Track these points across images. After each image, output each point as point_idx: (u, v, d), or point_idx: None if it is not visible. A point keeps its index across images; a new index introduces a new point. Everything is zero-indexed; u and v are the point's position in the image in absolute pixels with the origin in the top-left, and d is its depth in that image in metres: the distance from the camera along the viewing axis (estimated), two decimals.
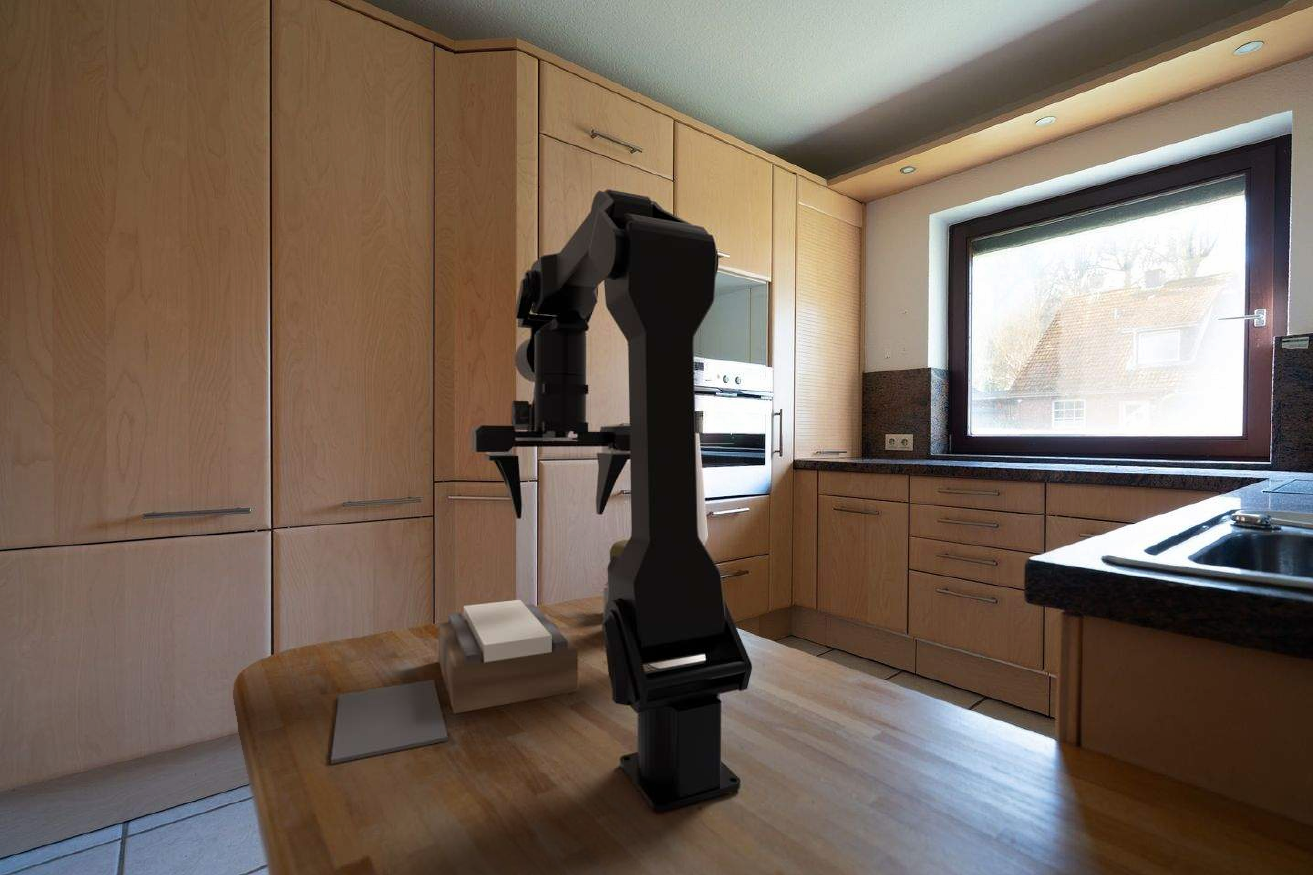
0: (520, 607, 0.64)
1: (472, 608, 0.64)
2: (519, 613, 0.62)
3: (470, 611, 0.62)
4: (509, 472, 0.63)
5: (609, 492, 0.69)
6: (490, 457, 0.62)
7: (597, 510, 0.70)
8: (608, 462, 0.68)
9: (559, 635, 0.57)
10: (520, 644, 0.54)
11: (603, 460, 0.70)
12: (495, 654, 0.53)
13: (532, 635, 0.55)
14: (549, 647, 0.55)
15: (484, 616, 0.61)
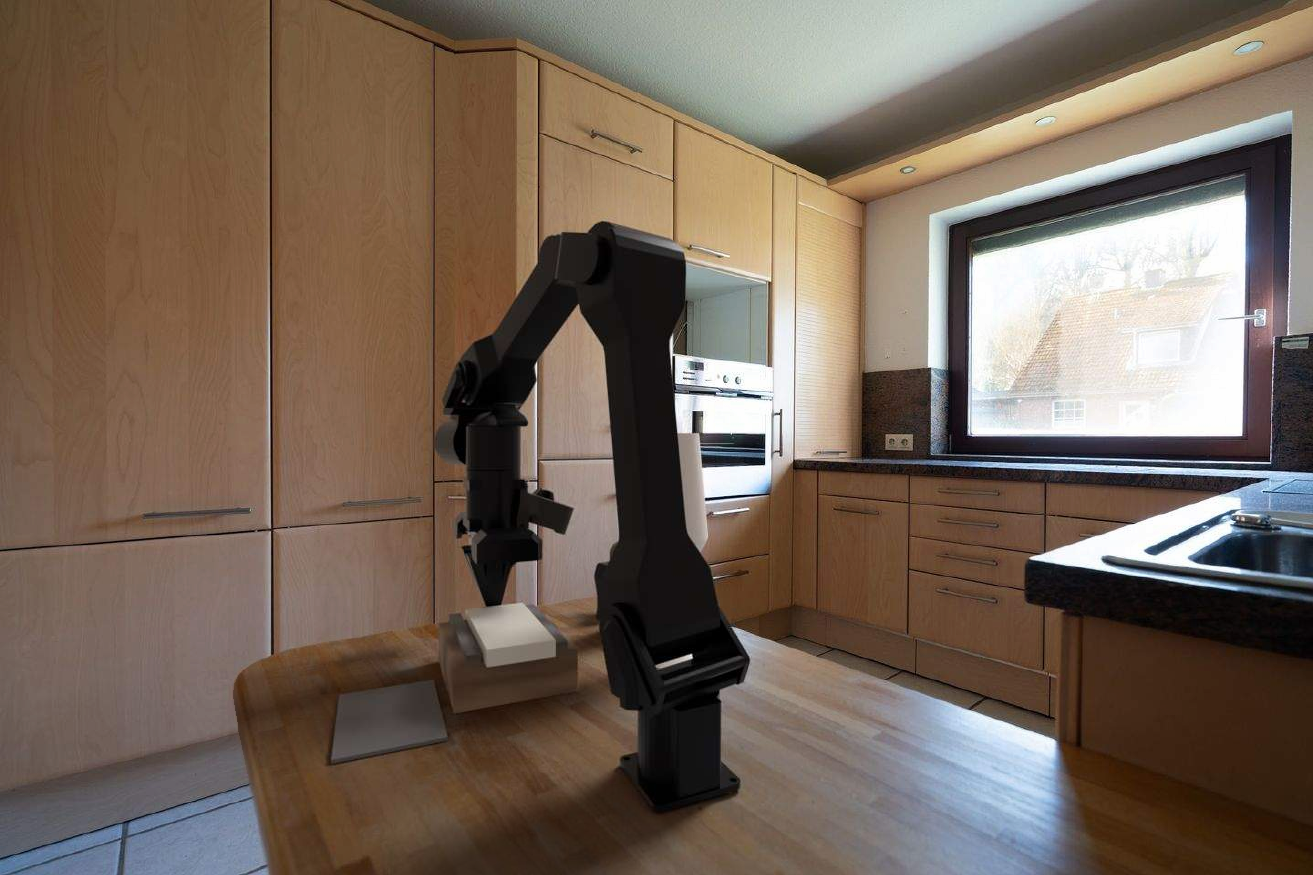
0: (523, 610, 0.63)
1: (474, 611, 0.62)
2: (522, 617, 0.61)
3: (472, 615, 0.61)
4: (468, 565, 0.66)
5: (480, 593, 0.64)
6: None
7: None
8: None
9: (559, 635, 0.57)
10: (524, 648, 0.53)
11: None
12: (498, 659, 0.52)
13: (536, 640, 0.54)
14: (553, 652, 0.54)
15: (486, 619, 0.60)
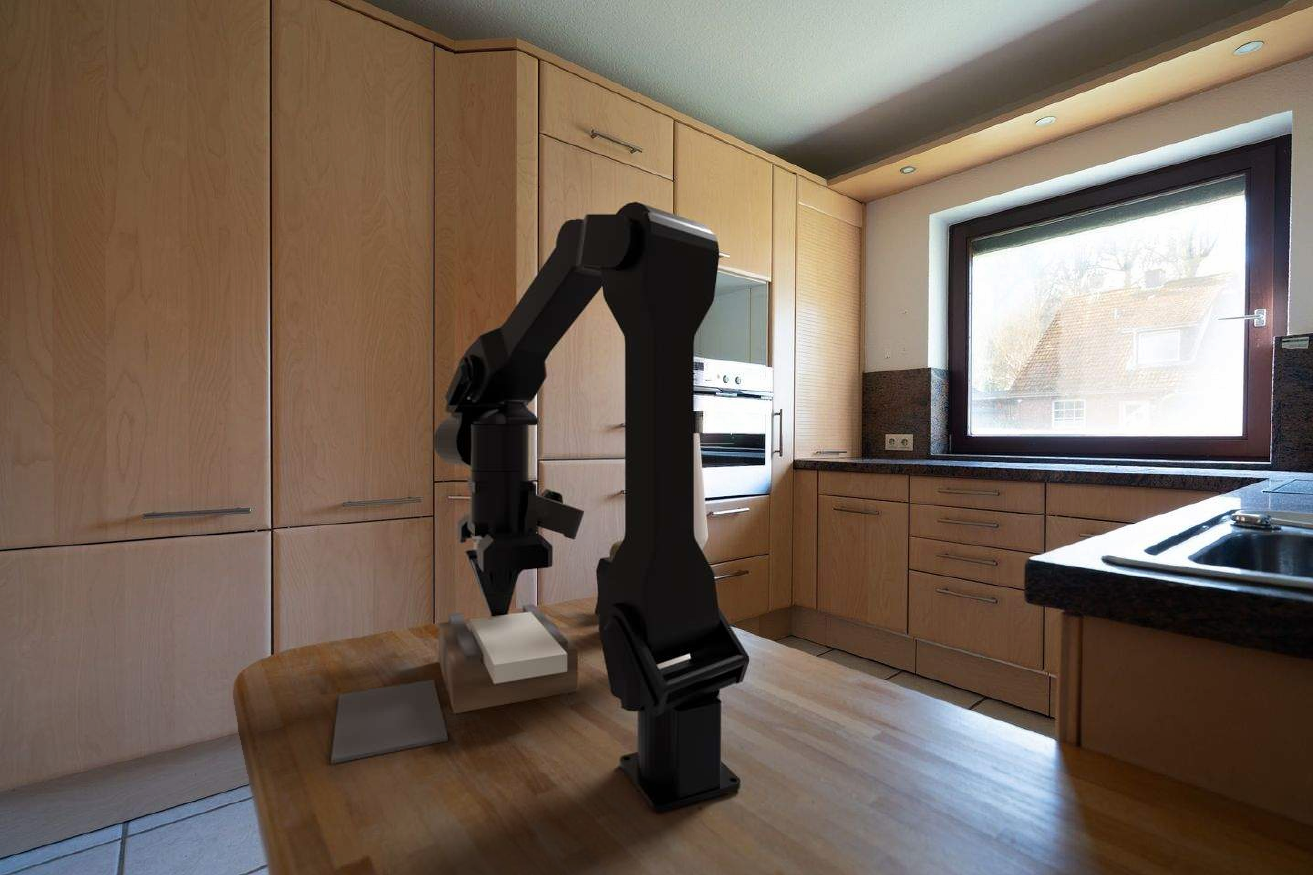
0: (531, 620, 0.60)
1: (480, 621, 0.59)
2: (531, 628, 0.57)
3: (477, 625, 0.58)
4: (473, 571, 0.62)
5: (486, 600, 0.61)
6: None
7: None
8: None
9: (559, 635, 0.57)
10: (533, 663, 0.50)
11: None
12: (506, 674, 0.49)
13: (546, 654, 0.51)
14: (564, 666, 0.51)
15: (493, 630, 0.56)
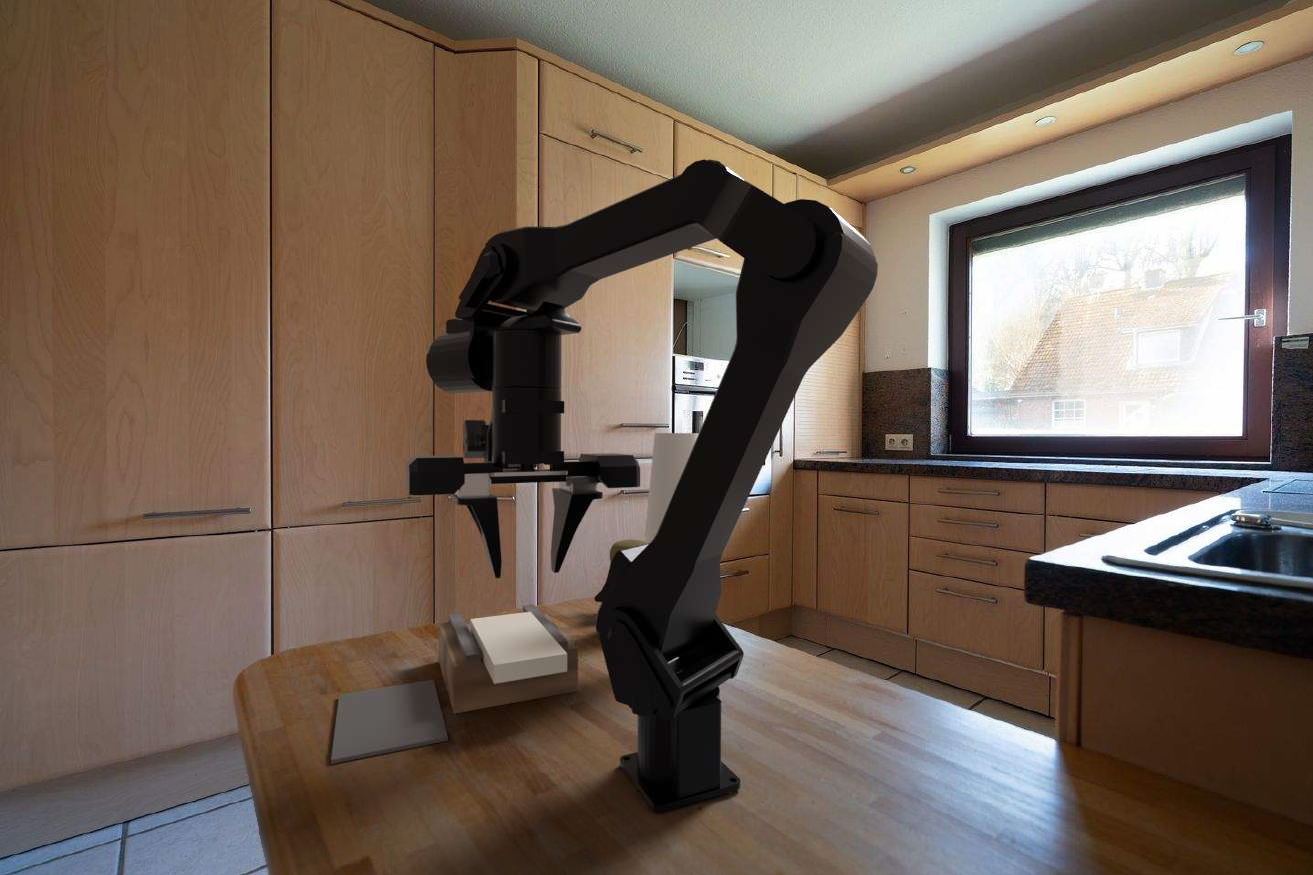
0: (532, 620, 0.60)
1: (480, 621, 0.59)
2: (531, 628, 0.57)
3: (477, 625, 0.58)
4: (484, 519, 0.47)
5: (568, 543, 0.51)
6: (459, 500, 0.46)
7: (552, 566, 0.52)
8: (566, 504, 0.51)
9: (559, 635, 0.57)
10: (533, 663, 0.50)
11: (560, 499, 0.52)
12: (506, 675, 0.49)
13: (546, 654, 0.51)
14: (564, 666, 0.51)
15: (493, 630, 0.56)
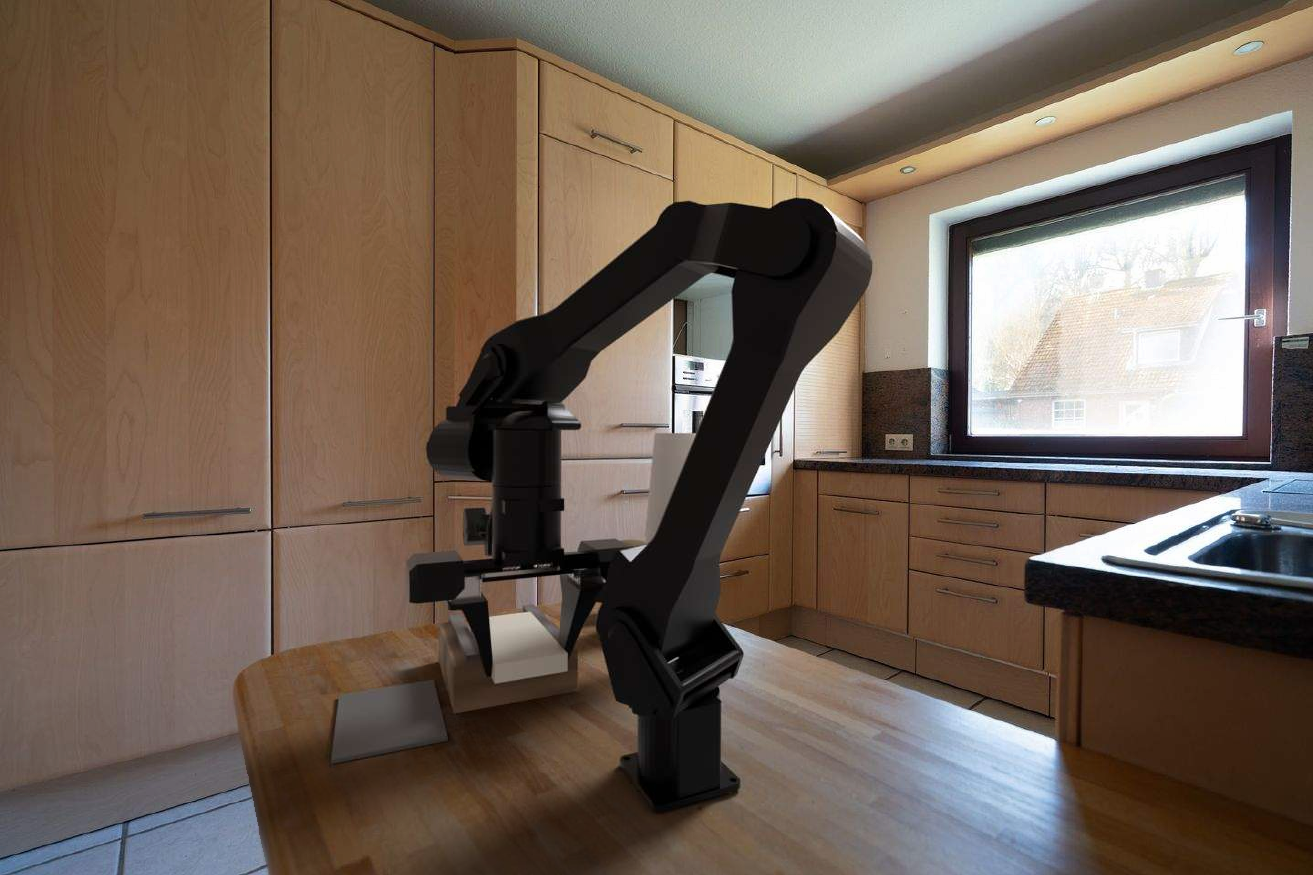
0: (531, 620, 0.60)
1: None
2: (531, 628, 0.57)
3: None
4: (475, 623, 0.47)
5: (576, 636, 0.52)
6: (449, 606, 0.46)
7: None
8: (574, 599, 0.51)
9: None
10: (534, 663, 0.50)
11: (568, 591, 0.53)
12: (507, 674, 0.49)
13: (546, 653, 0.51)
14: (565, 666, 0.51)
15: (493, 630, 0.56)
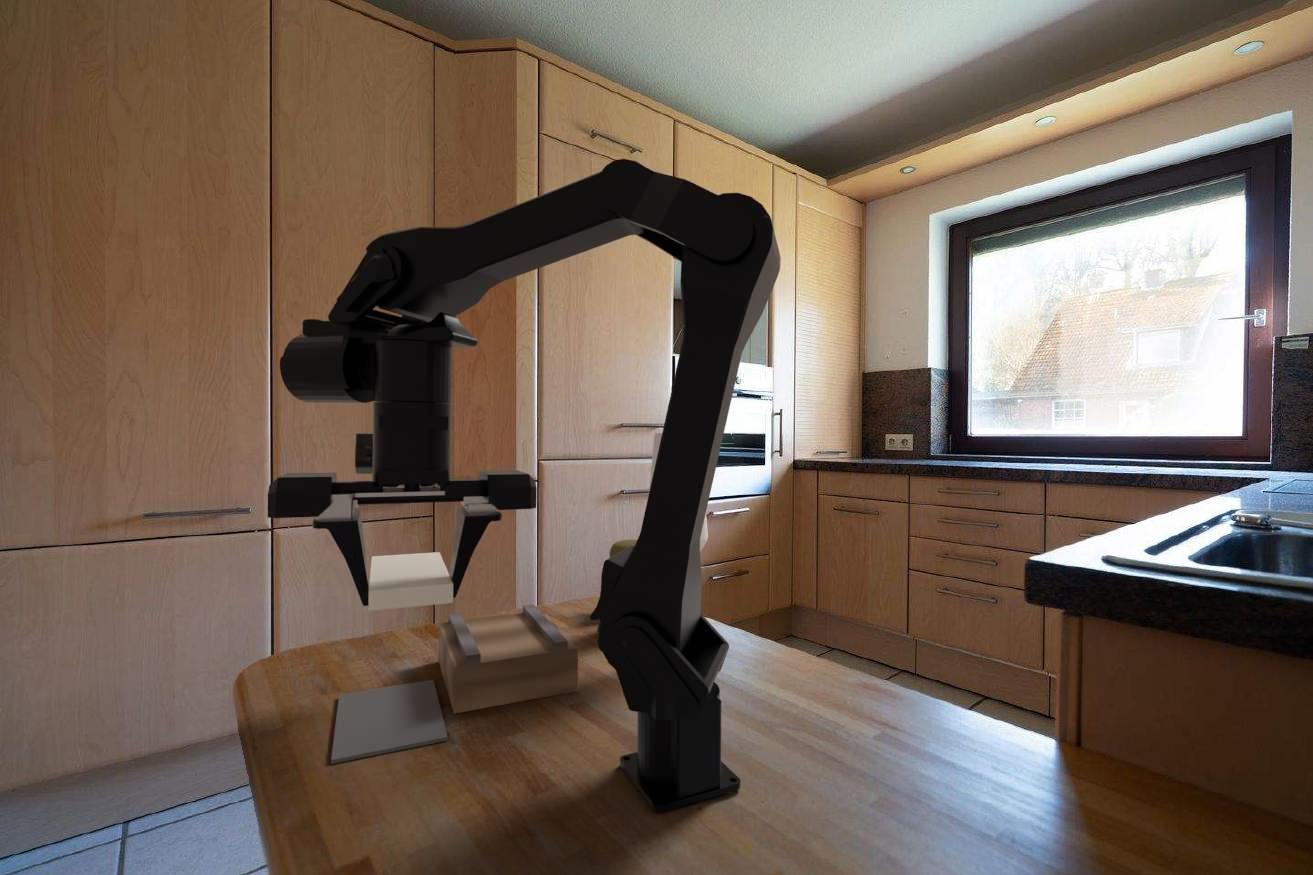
0: (435, 558, 0.57)
1: (380, 558, 0.56)
2: (430, 564, 0.54)
3: (375, 561, 0.55)
4: (344, 544, 0.44)
5: (464, 567, 0.48)
6: (314, 524, 0.43)
7: None
8: (461, 526, 0.48)
9: (559, 635, 0.57)
10: (414, 591, 0.46)
11: (459, 520, 0.49)
12: (382, 602, 0.46)
13: (430, 583, 0.47)
14: (450, 597, 0.48)
15: (388, 565, 0.53)
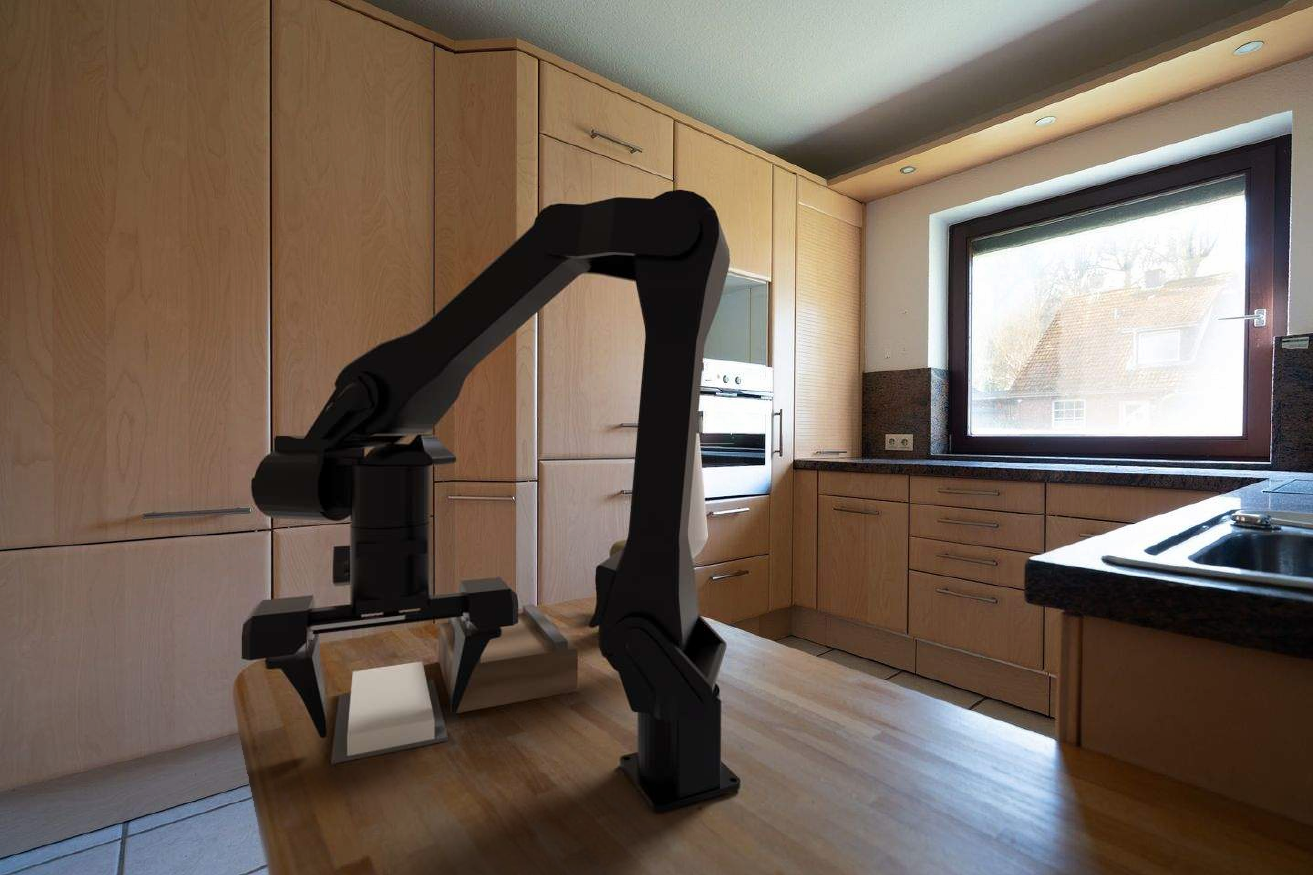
0: (418, 673, 0.56)
1: (361, 675, 0.55)
2: (412, 684, 0.53)
3: (356, 680, 0.54)
4: (298, 681, 0.43)
5: (464, 684, 0.48)
6: (266, 664, 0.41)
7: (450, 706, 0.49)
8: (461, 644, 0.48)
9: (559, 635, 0.57)
10: (394, 731, 0.46)
11: (459, 635, 0.49)
12: (362, 745, 0.45)
13: (411, 720, 0.47)
14: (431, 733, 0.47)
15: (369, 687, 0.53)
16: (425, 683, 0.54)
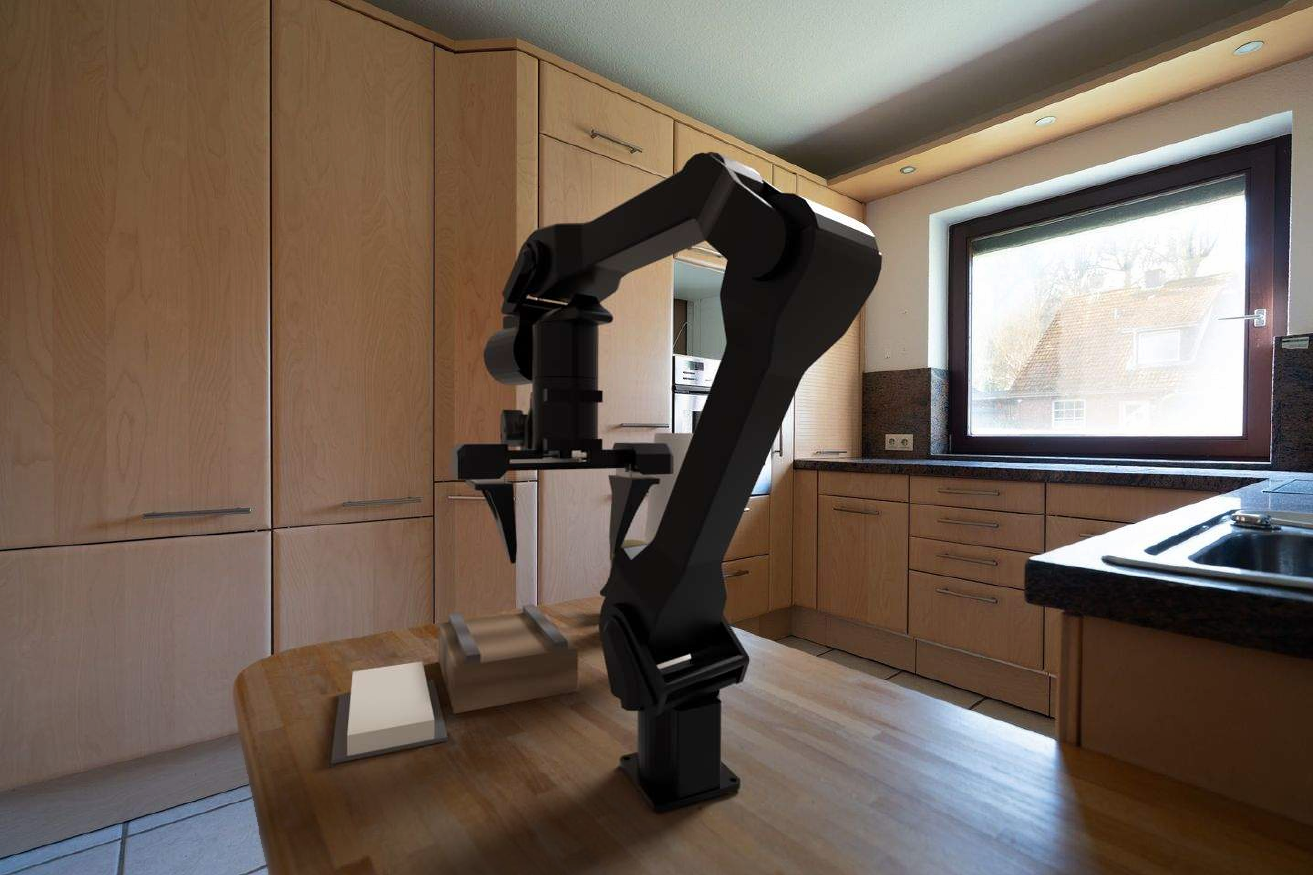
0: (418, 673, 0.56)
1: (361, 675, 0.55)
2: (412, 684, 0.53)
3: (356, 680, 0.54)
4: (500, 505, 0.48)
5: (627, 526, 0.54)
6: (476, 486, 0.47)
7: (611, 549, 0.55)
8: (627, 489, 0.53)
9: (559, 635, 0.57)
10: (394, 731, 0.46)
11: (619, 485, 0.55)
12: (362, 745, 0.45)
13: (411, 720, 0.47)
14: (431, 733, 0.47)
15: (369, 687, 0.53)
16: (425, 683, 0.54)
